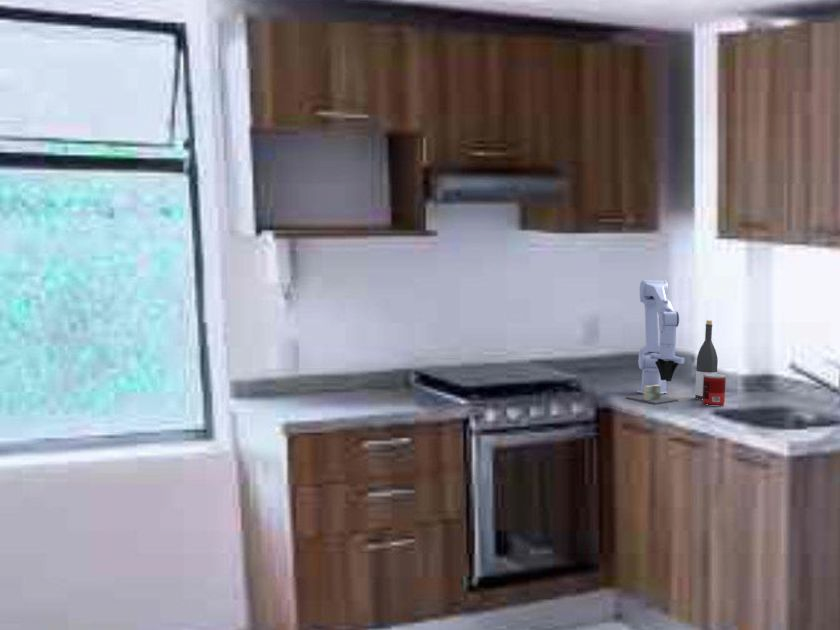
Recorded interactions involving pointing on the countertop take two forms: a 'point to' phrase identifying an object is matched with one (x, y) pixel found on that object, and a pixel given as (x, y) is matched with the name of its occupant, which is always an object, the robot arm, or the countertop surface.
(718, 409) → the countertop surface
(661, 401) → the rubber mat
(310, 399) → the countertop surface
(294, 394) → the countertop surface
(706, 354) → the wine bottle
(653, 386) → the pale green block
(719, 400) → the canned food
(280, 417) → the countertop surface
